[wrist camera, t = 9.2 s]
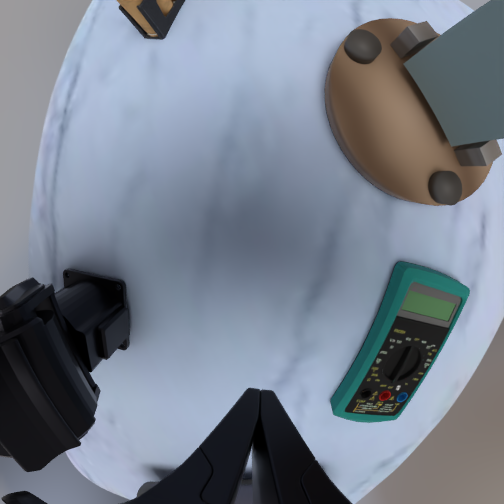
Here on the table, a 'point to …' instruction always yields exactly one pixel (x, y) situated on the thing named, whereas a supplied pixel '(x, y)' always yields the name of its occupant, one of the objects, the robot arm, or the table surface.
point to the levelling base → (397, 118)
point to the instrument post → (466, 76)
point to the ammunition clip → (151, 15)
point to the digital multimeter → (400, 344)
